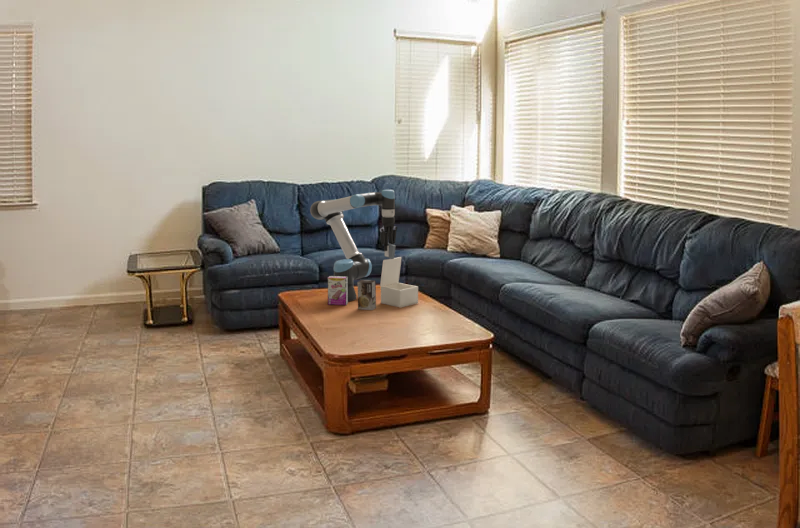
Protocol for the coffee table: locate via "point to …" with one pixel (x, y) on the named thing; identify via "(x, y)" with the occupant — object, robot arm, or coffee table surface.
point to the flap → (390, 268)
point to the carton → (399, 294)
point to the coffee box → (366, 294)
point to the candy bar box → (337, 290)
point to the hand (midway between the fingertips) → (388, 255)
